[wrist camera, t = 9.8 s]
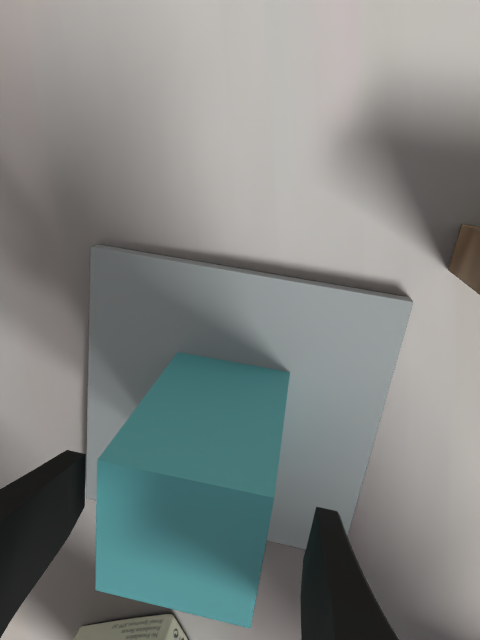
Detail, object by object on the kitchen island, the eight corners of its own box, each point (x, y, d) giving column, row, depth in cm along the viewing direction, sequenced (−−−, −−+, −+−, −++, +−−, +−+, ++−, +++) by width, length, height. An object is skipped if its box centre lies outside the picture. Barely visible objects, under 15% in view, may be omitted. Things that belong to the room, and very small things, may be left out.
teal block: (273, 467, 19) (250, 628, 12) (170, 446, 19) (95, 590, 13) (290, 372, 17) (274, 497, 11) (177, 351, 18) (96, 459, 11)
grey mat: (340, 547, 20) (341, 557, 20) (91, 489, 22) (85, 498, 21) (410, 297, 16) (413, 302, 16) (97, 244, 17) (90, 246, 17)
